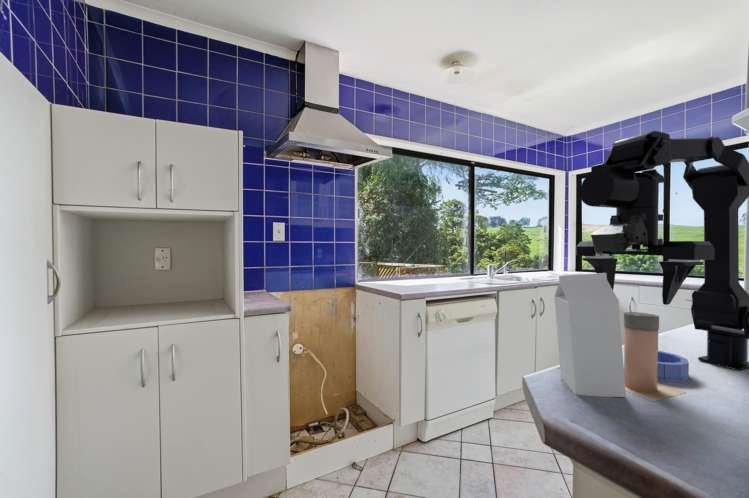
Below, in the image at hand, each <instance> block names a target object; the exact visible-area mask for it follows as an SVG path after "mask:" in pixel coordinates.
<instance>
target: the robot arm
mask: <svg viewBox="0 0 749 498" xmlns="http://www.w3.org/2000/svg"><path fill="white" fill-rule="evenodd" d="M712 159H713V161H715V162H716V163H718V164H720V165H714V166H713V165H712V166H708V167H702V168H698V169H696V168H695V166H694V163H695V162H701V161H706V160H712ZM667 163H669V164H670V163H683V164H685V168H684V172H683V176H682V177H683V180H684V181H685V182H686V184H687V185H688V187H689V188H690V190H691V192H692V199H693V201H694V202H695V203H696V204H697V205H698V206H699V207H700V208H701V210H702V211H703V240H673V241H672V240H665V241H664V239H663V238H659V222H663V221H664V214H660V213H659V193H660V192H659V191H660V190H659V189H660V188H659V186H660V185H659V184H663V183H666V178H665V177H664V176H663V175H662V174H660V172H658V171H657V169H655V167H658V166H661V165H664V164H667ZM578 193H579V197H580V200H581V201H582V203H583V204H585V205H586V206H590V207H593V208H600V207H601V208H608V209H609V208H611V209H616V212H615V213H616V214H615V215H611V216H610V218H609V225H607V226H603V227H601V228H599V229H598V230H595V231H593V232H592V233H590V237H591V241H579V242H578V244H577V245H576V247H575V256H577V257H582V258H581V260H582V261H584V262H587V263H588V264H590V266H591V267H592V268H593V269H594V271H595V274H596V273H606V275H607V281H608V282H609V284H610V286H611V288H612V290H613V291H614V288H615V280H616V269H617V264H618V263H617V262H618V257H612V256H613V255H627V256H628V255H629V256H633V255H634V256H657V257H658V256H663V257H664V258H665V259H666V260H665V261H661V260H660V261H658V263H659V265H660V268H661V269H662V271H663V275H662V290H661V291H662V293H661V297H662V304H663V305H665V306H666V305H667V306H669V305H670V304H671V302H672V301H673V299H674V297H675V296H676V295H677V293H678V291H679V290H680V288H681V287H682V285H683V283H684V281H685V280H686V278H687V277H688V276H689V275H690V273H692V271H693V270H694V269H695V268H696V267H697V266H703V265H704V281H703V283H702V285H701V286H700V287H699V288H698V289H697V290H693V292H692V293H691V302H692V304H691V308H690V310H691V312H690V313H691V318H692V322H693V326H694V329H695V330H697V331H698V330H701V331H705V332H707V333H706V339H707V340H706V341H707V342H706V355H705V356H704V355H703V356H699V357H697V359H698V361H701V362H705V363H709V364H713V365H717V366H719V367H720V366H721V367H724V368H728V369H732V370H737V371H742V370H748V369H749V361H748V352H749V351H748V350H749V348H748V345H749V342H748V340H749V293H748V292H747V291H746V290H745V288H743V286H742V285H741V284H740V282H739V281H740V280H739V279H740V277H739V276H740V274H739V273H740V272H739V271H740V267H739V265H740V264H739V261H740V260H739V242H740V241H739V208H741V206H742V205H743V204H744V203H745V201H746V200H747V199H748V198H749V161H748V159H747V158H746V155H744V154H743V153H740V152H739V151H737V150H734V149H733V148H730V147H728V146H726V144H724V142H723V141H722V139H721V138H720V137H719V136H715V137H714V136H709V137H702V138H701V137H700V138H699V137H698V138H697V137H696V138H693V137H692V138H691V137H690V138H671V135H670V133H667V132H663V131H659V130H653V131H649V132H645V133H642V134H637V135H634V136H631V137H627V138H623V139H620V140H617V141H614V142H613V144H612V148H611V149H610V150H609V151H608V153H607V156H606V157H605V159H604V161H603V163H598V164H595V165H592V166H591V169H590V173H589V174H588V175H586V177H584V179H583V181H582V182H581V185H580V187H579V191H578ZM641 246H642V247H643V248H641ZM629 247H631V248H629ZM646 247H647V248H646Z"/></svg>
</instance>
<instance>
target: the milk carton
mask: <svg viewBox="0 0 749 498" xmlns="http://www.w3.org/2000/svg"><path fill="white" fill-rule="evenodd" d="M558 280H559V282H558V285H557V287H556V291H555V293H554V308H555V309H554V310H555V320H556V321H555V322H556V323H555V324H556V334H557V346H558V347H557V348H558V359H559V371H560V379H561V380H562V381H563V382H564V383H565V384H566V386H568V388H569V389H570V390H571V391H572V392H573V394H574V395H576V396H577V395H578V396H588V397H601V398H603V397H604V398H625V397H626V396H627V395H626V394H627V393H626V392H627V391H625V378H624V351H623V341H622V329H621V315H620V304H619V303H620V302H619V299H618V297H617V295H616V293H615V292H614V289H613V290H612V288H611V286H610V284H609V282H608V281H607V275H606V273H596V272H595V273H584V274H583V273H581V274H564V275H558Z"/></svg>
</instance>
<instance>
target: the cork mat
mask: <svg viewBox="0 0 749 498" xmlns="http://www.w3.org/2000/svg"><path fill="white" fill-rule="evenodd" d="M625 391H626V392H628V393H631V394H632V395H633V394H634V395H637V396H639V397H641V398H644V399H646V400H649V401H651V402H656V401H660V400H665V399H668V398H672V397H676V396H679V395H680V396H681V395H683V394H686V392H685V391H682V390H679V389H676V388H673V387H670V386H669V385H668V386H667V385H664V384H661V383H658V391H657V392H655V393H645V392H639V391H635V390H632V389H630V388H628V387H626V386H625Z"/></svg>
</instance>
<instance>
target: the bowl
mask: <svg viewBox="0 0 749 498" xmlns="http://www.w3.org/2000/svg"><path fill="white" fill-rule="evenodd" d="M689 364H690V363H689V360H688V358H685V357H684V356H680V355H679V354H675V353H671V352H669V351H668V352H667V351H664V350H658V381H663V382H674V383H677V382H685V381H688V379H689V378H690V377H689V375H690V374H689V371H690V370H689Z"/></svg>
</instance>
